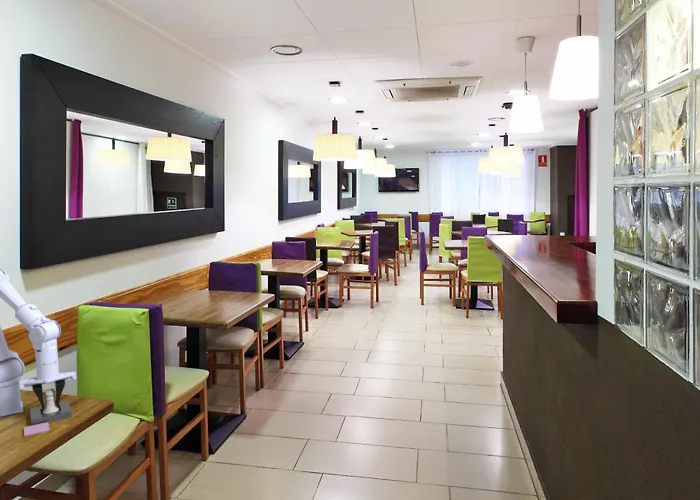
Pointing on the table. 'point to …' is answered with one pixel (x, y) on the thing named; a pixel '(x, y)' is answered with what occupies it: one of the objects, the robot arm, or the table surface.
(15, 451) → the table surface
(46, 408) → the rook chess piece
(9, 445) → the table surface
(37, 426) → the mat
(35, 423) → the socket block
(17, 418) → the table surface
